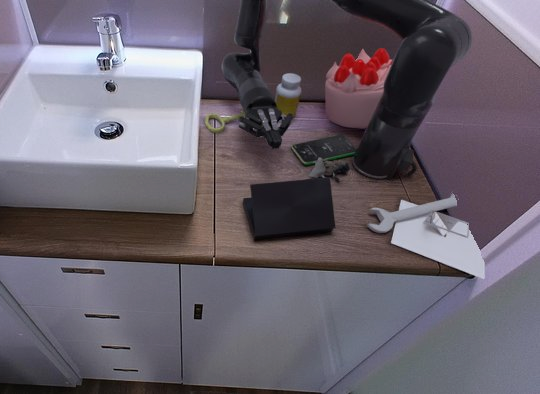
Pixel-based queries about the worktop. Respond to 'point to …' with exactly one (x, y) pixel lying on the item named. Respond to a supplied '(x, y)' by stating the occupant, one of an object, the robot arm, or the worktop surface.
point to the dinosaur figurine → (329, 168)
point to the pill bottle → (288, 94)
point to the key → (223, 121)
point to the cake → (356, 88)
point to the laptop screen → (292, 206)
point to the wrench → (408, 213)
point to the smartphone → (323, 149)
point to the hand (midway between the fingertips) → (276, 145)
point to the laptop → (249, 214)
